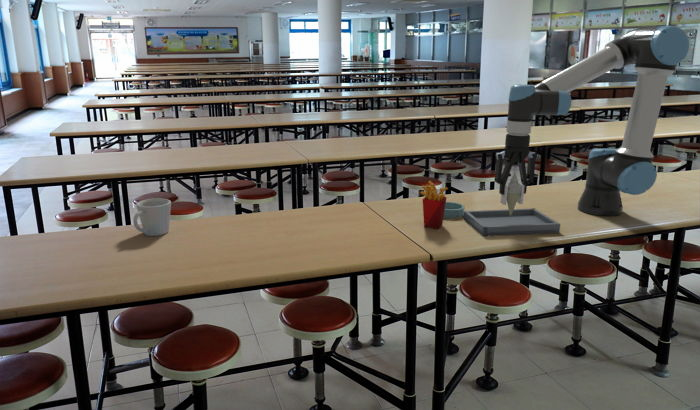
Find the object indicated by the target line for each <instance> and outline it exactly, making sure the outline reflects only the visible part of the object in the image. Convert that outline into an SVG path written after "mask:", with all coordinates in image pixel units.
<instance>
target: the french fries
mask: <svg viewBox="0 0 700 410" xmlns="http://www.w3.org/2000/svg"><path fill="white" fill-rule="evenodd" d="M421 188H422V189H423V190H424V191H423V190H421V191H420V192H419V193H420V195H422V196H424V198H422V210H423V211H422V212H423V213H422V214H423V228H427V229H432V230H433V229H434V230H439V229H440V228H441V227H443V223H444V218H443V217H444V211H445V204H446V202H447V196H446V194H444V192H445V191H446V190H448V189H449V188H448V187H447V186H445V188H443V187H440V188H439V193H438V188H437V187H436V185H435V184H434V183H433V182H432V180H429V181H428V184H425V185H424V184H422V186H421Z"/></svg>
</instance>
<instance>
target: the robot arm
mask: <svg viewBox="0 0 700 410" xmlns="http://www.w3.org/2000/svg"><path fill="white" fill-rule="evenodd" d="M689 50H690V40H689V37H688V35H687V34H686V31H684V29H682V28H681V27H678V26H676V25H675V26H673V25H655V26H642V27H641V26H640V27H637V28H634V29H632V30H630V31H628V32H626V33H624V34H622V35H620V36H619V37H617V38H615V39H613V40H611V41H610V42H607V43H606V44H605V45H604V48H602V49H600V50H599V51H597V52H595V53H592V54H591V55H588V57H586V58H584V59H582V60H581V61H579V62H577V63H575V64H573V65H571V66H569V67H567V68H565V69H564V70H562V71H560V72H558V73H556V74H555V75H552V76H551V77H548V78H547V79H545V80H543V81H541V82H539V83H537V84H535V85H534V84H513V85H512V86H511V87H510V89H509V90H510V91H509V95H508V96H509V97H508V108H507V109H508V111H507V118H506V119H507V120H506V121H507V122H506V133H507V134H506V135H505V143H504V149H503V151H501V152H496V153H495V159H496V160H495V161H496V162H495V171H494V172H495V173H494V182H495V183H497V184H499V188H498V189H499V194H500V203H501V204H502V205H503V206H507V191H508V184H507V182H508V178H509V176H510V173H511V170H512V167H513V166H514V164H515V163H517V165H518V170H519V177H520V183H519V182H518V183H519V184H520V186H521V192H520V195H519V197H518V200H517V202H516V203H517V204H519V205H523V204H524V195H526V194H527V187H528V186H529V185H530V183H533V182H534V175H535V164H536V159H537V157H538V153H537V152H534V151H530V150H531V149H530V148H529V147H530V142H531V135H530V134H531V132H532V123H533V116H562V115H567V114H568V113H569V111H570V109H571V107H572V97H571V95H570V92H572V91H574V90H576V89H578V88H580V87H582V86H584V85H585V84H588V83H589V82H591V81H592V80H594V79H597V78H598V77H601V76H603V75H604V74H606V73H608V72H609V71H612V70H613V69H617V70H619V69H622V68H624V67H627V66H629V65H633V64H635V66H634V69H635V71H636V72H637V74H638V75H637V79H636V83H635V87H634V91H633V95H632V101H631V104H630V109H629V114H628V117H627V120H626V121H627V123H626V126H625V130H624V134H623V140H622V143H621V146H620V147H619V148H593V149H591V150H590V152H589V155H588V159H587V160H588V161H587V162H588V163H587V171H586V180H585V186H584V189H583V191H582V194H581V196H580V197H579V200H578V202H577V209H578V210H579V211H580V212H584V213H586V214H588V215H589V214H590V215H593V216H594V215H595V216H596V215H597V216H605V217H606V216H607V217H608V216H610V217H614V216H615V217H616V216H618V215H621V214H622V213H623V207H624V206H623V201H622V197H621V193H624V194H627V195H631V196H632V195H633V196H636V195H637V196H638V195H641V194H644V193H645V192H647V191H648V190H650V189H651V188H652V187H653V186H654V184H655V183H656V180H657V175H658V172H657V170H656V167H655V165H653V160H654V157H655V155H653V153H652V152H651V147H652V143H653V139H654V135H655V131H656V126H657V123H658V119H659V114H660V110H661V106H662V102H663V98H664V94H665V90H666V87H667V82H668V78H669V77H670V76H671V75H672V74H674V73H675V72H676V68H677V65H678V64H680V63H682V61H683V60H685V59H686V58H687V55H688V53H689ZM527 157H528V158H527ZM504 158H506V160H505V162H504ZM526 158H527V163H526ZM504 163H505V165H504ZM503 165H504V167H503ZM526 165H527V168H526Z"/></svg>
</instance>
